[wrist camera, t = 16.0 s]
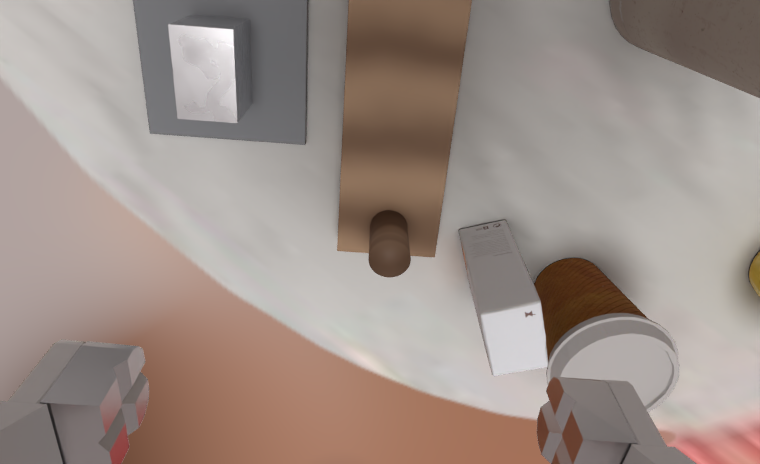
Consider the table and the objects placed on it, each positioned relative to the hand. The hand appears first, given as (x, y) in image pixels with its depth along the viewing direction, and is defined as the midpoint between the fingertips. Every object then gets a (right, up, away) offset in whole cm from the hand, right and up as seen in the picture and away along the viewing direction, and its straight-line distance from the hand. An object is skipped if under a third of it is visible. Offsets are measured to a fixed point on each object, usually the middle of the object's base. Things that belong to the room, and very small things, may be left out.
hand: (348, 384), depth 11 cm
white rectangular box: (-11, +16, +29) cm, 34 cm away
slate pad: (-11, +16, +29) cm, 35 cm away
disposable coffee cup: (+18, -2, +39) cm, 43 cm away
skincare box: (+10, +1, +37) cm, 39 cm away
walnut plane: (+2, +11, +32) cm, 34 cm away
